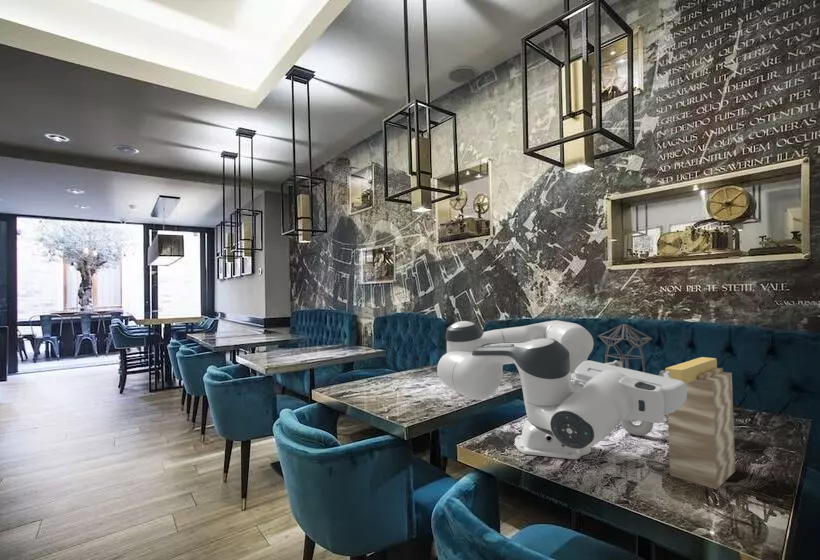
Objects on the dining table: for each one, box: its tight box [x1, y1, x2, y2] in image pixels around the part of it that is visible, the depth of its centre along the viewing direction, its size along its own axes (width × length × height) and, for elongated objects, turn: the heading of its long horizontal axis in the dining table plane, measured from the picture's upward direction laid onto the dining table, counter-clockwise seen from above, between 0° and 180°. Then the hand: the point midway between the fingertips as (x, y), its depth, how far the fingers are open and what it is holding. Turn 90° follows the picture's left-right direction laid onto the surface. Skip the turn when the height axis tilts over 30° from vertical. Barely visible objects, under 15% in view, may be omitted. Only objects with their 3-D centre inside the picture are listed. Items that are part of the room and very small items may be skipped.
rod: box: [664, 356, 718, 384], centre depth 105 cm, size 26×4×4 cm, turn 128°
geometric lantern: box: [597, 323, 653, 373], centre depth 165 cm, size 16×16×35 cm
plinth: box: [667, 367, 736, 490], centre depth 107 cm, size 16×10×27 cm, turn 128°
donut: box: [619, 420, 654, 437], centre depth 135 cm, size 10×4×10 cm, turn 52°
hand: (641, 368), depth 87 cm, fingers open, 8 cm apart
